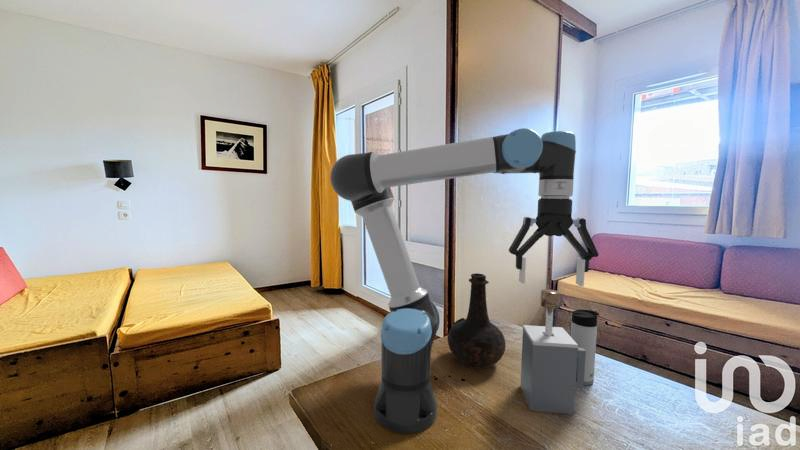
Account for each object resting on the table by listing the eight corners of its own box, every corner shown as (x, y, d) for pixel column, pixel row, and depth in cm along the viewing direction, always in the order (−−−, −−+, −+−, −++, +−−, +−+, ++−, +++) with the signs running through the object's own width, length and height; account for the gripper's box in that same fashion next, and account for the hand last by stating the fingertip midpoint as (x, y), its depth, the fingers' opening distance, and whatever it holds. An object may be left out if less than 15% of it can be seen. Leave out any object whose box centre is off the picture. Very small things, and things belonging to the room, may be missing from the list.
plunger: (539, 386, 79) (544, 294, 77) (534, 376, 83) (538, 289, 81) (558, 387, 78) (563, 295, 76) (552, 377, 83) (556, 289, 81)
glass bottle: (470, 342, 113) (473, 265, 110) (516, 363, 99) (520, 275, 97) (435, 358, 102) (436, 272, 99) (481, 384, 88) (484, 285, 85)
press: (530, 410, 77) (533, 341, 76) (520, 385, 87) (523, 325, 86) (590, 415, 75) (594, 345, 74) (573, 390, 85) (576, 328, 84)
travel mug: (598, 387, 87) (603, 316, 85) (572, 384, 88) (576, 314, 86) (589, 374, 93) (593, 308, 91) (565, 372, 94) (569, 306, 92)
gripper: (504, 197, 75) (501, 284, 77) (619, 198, 71) (612, 290, 73) (499, 197, 82) (496, 277, 84) (602, 198, 79) (597, 281, 81)
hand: (550, 283), depth 79 cm, fingers open, 13 cm apart
